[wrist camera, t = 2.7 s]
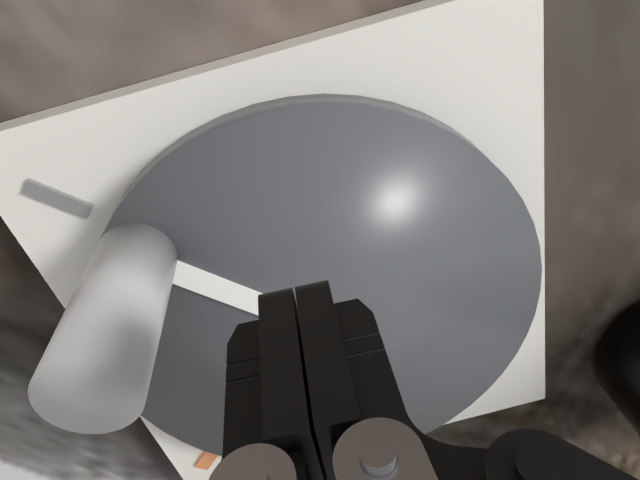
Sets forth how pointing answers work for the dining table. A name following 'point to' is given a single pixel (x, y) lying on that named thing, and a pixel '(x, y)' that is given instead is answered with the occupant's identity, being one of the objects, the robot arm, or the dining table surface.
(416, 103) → the dial base
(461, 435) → the dining table surface
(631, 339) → the ink bottle
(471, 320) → the dial
